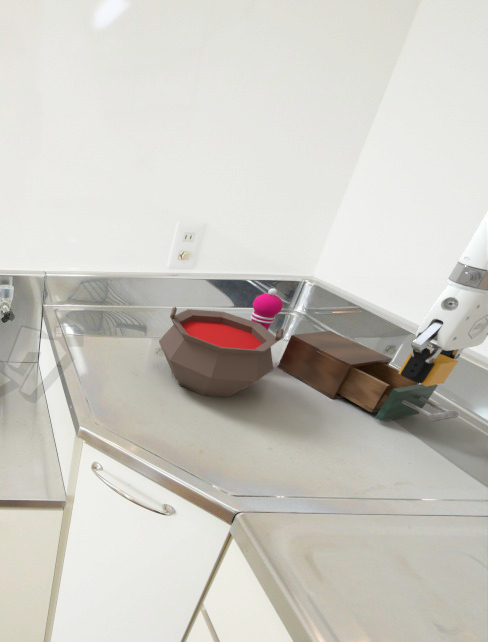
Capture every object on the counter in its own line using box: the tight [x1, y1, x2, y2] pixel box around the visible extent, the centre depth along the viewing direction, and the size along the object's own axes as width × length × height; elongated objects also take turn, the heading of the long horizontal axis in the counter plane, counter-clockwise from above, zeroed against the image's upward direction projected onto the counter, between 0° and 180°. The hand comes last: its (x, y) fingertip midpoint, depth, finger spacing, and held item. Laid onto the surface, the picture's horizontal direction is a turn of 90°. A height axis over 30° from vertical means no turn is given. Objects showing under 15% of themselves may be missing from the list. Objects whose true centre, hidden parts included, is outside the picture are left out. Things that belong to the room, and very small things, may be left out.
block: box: [398, 349, 459, 386], centre depth 74 cm, size 4×4×4 cm
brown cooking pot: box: [158, 306, 285, 398], centre depth 96 cm, size 24×24×16 cm
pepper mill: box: [250, 287, 284, 331], centre depth 104 cm, size 7×7×20 cm
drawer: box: [338, 363, 459, 422], centre depth 90 cm, size 20×11×7 cm, turn 16°
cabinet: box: [277, 330, 393, 400], centre depth 101 cm, size 15×13×9 cm
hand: (421, 376), depth 75 cm, fingers closed on block, 4 cm apart
